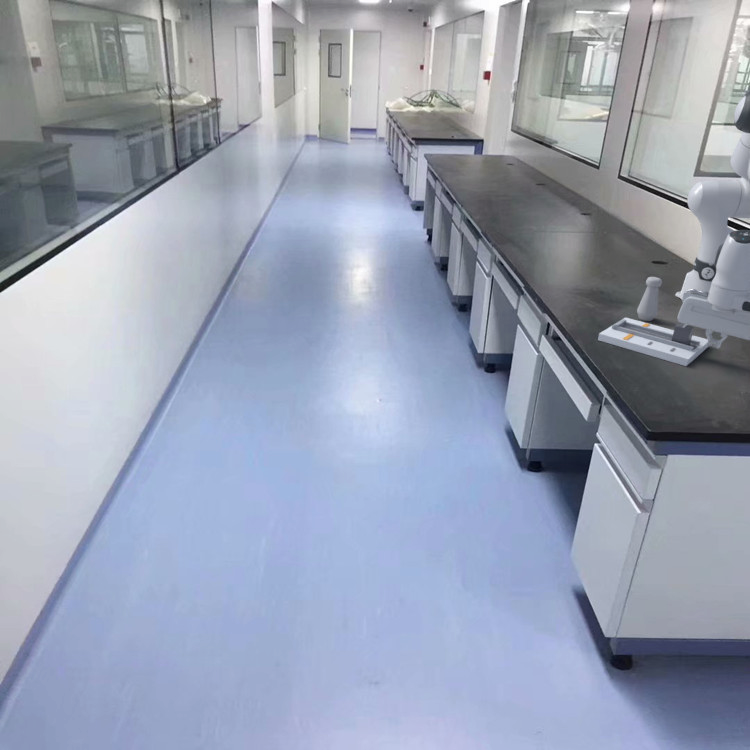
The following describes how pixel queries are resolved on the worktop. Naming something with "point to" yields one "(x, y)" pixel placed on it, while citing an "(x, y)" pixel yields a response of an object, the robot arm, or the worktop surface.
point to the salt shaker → (649, 300)
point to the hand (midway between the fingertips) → (713, 346)
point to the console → (652, 341)
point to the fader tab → (683, 334)
